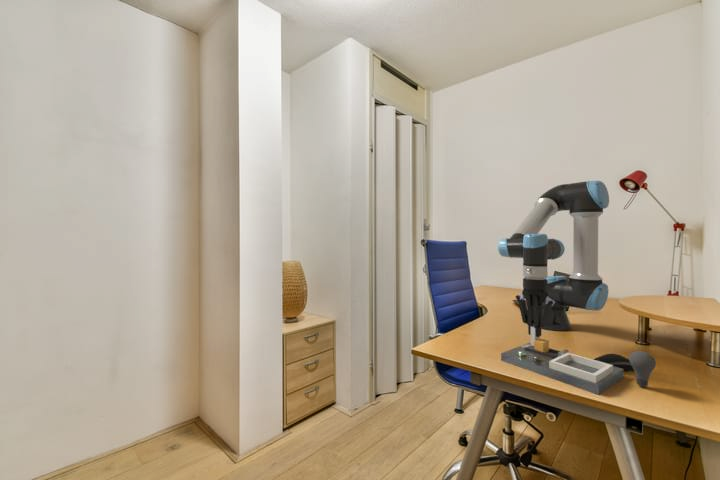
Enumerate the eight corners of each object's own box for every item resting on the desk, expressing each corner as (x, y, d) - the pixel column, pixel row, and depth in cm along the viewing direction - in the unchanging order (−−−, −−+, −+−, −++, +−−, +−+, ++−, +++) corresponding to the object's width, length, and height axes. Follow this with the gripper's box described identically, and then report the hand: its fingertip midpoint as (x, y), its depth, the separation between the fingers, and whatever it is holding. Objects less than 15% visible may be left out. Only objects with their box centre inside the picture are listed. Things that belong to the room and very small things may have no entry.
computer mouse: (585, 362, 106) (585, 350, 106) (625, 363, 105) (625, 351, 105) (599, 371, 99) (599, 358, 99) (641, 372, 98) (641, 360, 98)
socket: (567, 358, 102) (567, 352, 102) (613, 372, 92) (613, 365, 92) (549, 367, 95) (549, 361, 95) (595, 383, 85) (595, 375, 85)
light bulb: (658, 388, 87) (659, 352, 87) (651, 393, 84) (651, 356, 84) (633, 380, 92) (633, 346, 92) (625, 385, 89) (625, 350, 89)
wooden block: (539, 348, 111) (539, 338, 111) (548, 350, 109) (548, 340, 109) (534, 350, 109) (534, 340, 109) (542, 353, 107) (543, 343, 106)
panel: (529, 349, 117) (529, 337, 117) (623, 377, 94) (623, 362, 94) (501, 360, 107) (501, 347, 107) (598, 394, 84) (598, 378, 84)
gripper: (511, 276, 114) (510, 341, 114) (549, 281, 103) (548, 353, 103) (522, 275, 118) (522, 337, 118) (560, 279, 107) (559, 348, 107)
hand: (534, 344), depth 111 cm, fingers closed
